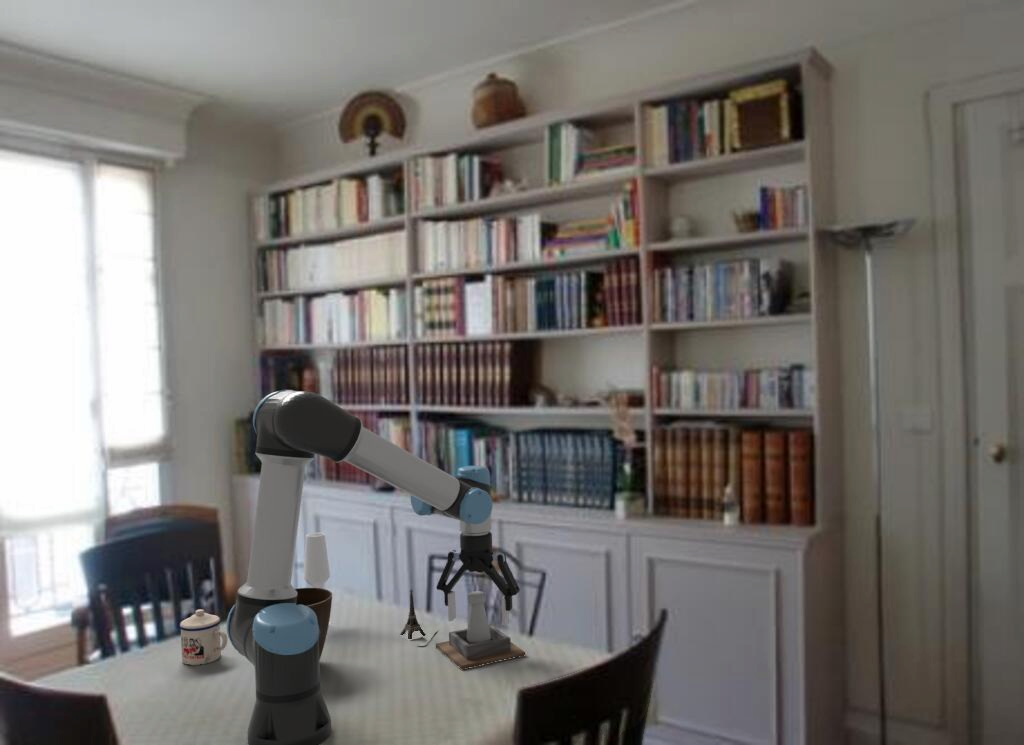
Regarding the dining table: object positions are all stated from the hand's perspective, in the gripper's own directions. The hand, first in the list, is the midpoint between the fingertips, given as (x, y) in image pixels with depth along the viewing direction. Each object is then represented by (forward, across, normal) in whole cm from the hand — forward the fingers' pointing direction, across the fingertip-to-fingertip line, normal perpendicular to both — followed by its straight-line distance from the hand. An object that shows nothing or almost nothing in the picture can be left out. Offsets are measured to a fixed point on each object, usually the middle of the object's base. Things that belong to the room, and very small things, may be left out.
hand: (478, 621), depth 192 cm
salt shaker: (+6, 0, 0) cm, 6 cm away
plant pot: (+7, +37, +18) cm, 42 cm away
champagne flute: (+7, +49, -8) cm, 50 cm away
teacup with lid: (+7, +62, +20) cm, 65 cm away
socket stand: (+7, 0, 0) cm, 7 cm away
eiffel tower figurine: (+8, +20, -6) cm, 22 cm away
